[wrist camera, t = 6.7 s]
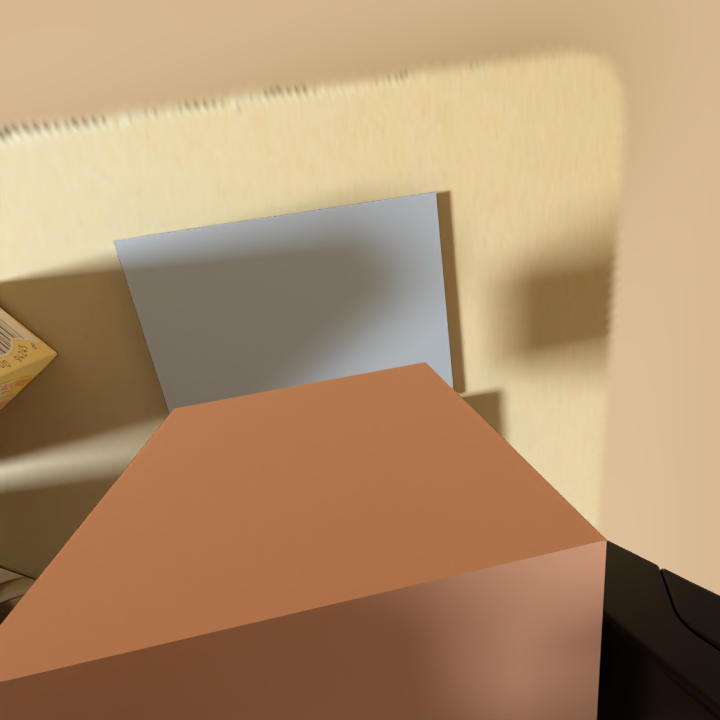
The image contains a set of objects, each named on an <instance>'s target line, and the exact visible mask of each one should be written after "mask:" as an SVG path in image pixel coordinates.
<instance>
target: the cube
mask: <svg viewBox="0 0 720 720" xmlns="http://www.w3.org/2000/svg"><path fill="white" fill-rule="evenodd" d="M606 544H607V540H606V539H605V538H604V537H603V536H602V535H601V534H600V533H599V532H598V531H597V530H596V529H595V528H594V527H593V526H592V525H591V524H590V523H589V522H588V521H587V520H586V519H585V518H584V517H583V516H582V515H581V514H580V513H579V512H578V511H577V510H576V509H575V508H574V507H573V506H572V505H571V504H570V503H569V502H568V501H567V500H566V499H565V498H564V497H563V496H562V495H560V494H559V493H558V492H557V491H556V490H555V489H554V488H553V487H552V486H551V485H550V484H549V483H548V482H547V481H546V480H545V479H544V478H543V477H542V476H541V475H540V474H539V473H538V472H537V471H536V470H535V469H534V468H533V467H532V466H531V465H530V464H529V463H528V462H527V461H526V460H525V459H524V458H523V457H522V456H521V455H520V454H519V453H518V452H517V451H516V450H515V449H514V448H513V447H512V446H511V445H510V444H509V443H508V442H506V441H505V440H504V439H503V438H502V437H501V436H500V435H499V434H498V433H497V432H496V431H495V430H494V429H493V428H492V427H491V426H490V425H489V424H488V423H487V422H486V421H485V420H484V419H483V418H482V417H481V416H480V415H479V414H478V413H477V412H476V411H475V410H474V409H473V408H472V407H471V406H470V405H469V404H468V403H467V402H466V401H465V400H464V399H463V398H462V397H461V396H460V395H459V394H458V393H457V392H456V391H455V390H454V389H452V388H451V387H450V386H449V385H448V384H447V383H446V382H445V381H444V380H443V379H442V378H441V377H440V376H439V375H438V374H437V373H436V372H435V371H434V370H433V369H432V368H431V367H430V366H429V365H428V364H427V363H426V362H423V363H417V364H412V365H407V366H401V367H396V368H390V369H385V370H380V371H374V372H369V373H363V374H358V375H353V376H347V377H342V378H336V379H331V380H326V381H320V382H315V383H309V384H304V385H299V386H293V387H288V388H282V389H277V390H272V391H266V392H261V393H255V394H250V395H245V396H239V397H234V398H228V399H223V400H218V401H212V402H207V403H201V404H196V405H191V406H185V407H180V408H174V409H173V411H172V412H171V413H170V414H169V416H168V417H167V418H166V419H165V421H164V422H163V423H162V424H161V426H160V427H159V428H158V429H157V431H156V432H155V433H154V434H153V436H152V437H151V438H150V439H149V441H148V442H147V443H146V444H145V446H144V447H143V448H142V449H141V451H140V452H139V453H138V454H137V455H136V457H135V458H134V459H133V460H132V462H131V463H130V464H129V465H128V467H127V468H126V469H125V470H124V472H123V473H122V474H121V475H120V477H119V478H118V479H117V480H116V482H115V483H114V484H113V485H112V487H111V488H110V489H109V490H108V492H107V493H106V494H105V495H104V497H103V498H102V499H101V500H100V502H99V503H98V504H97V505H96V507H95V508H94V509H93V510H92V512H91V513H90V514H89V515H88V517H87V518H86V519H85V520H84V522H83V523H82V524H81V525H80V526H79V528H78V529H77V530H76V531H75V533H74V534H73V535H72V536H71V538H70V539H69V540H68V541H67V543H66V544H65V545H64V546H63V548H62V549H61V550H60V551H59V553H58V554H57V555H56V556H55V558H54V559H53V560H52V561H51V563H50V564H49V565H48V566H47V568H46V569H45V570H44V571H43V573H42V574H41V575H40V576H39V578H38V579H37V580H36V581H35V583H34V584H33V585H32V586H31V588H30V589H29V590H28V591H27V593H26V594H25V595H24V596H23V598H22V599H21V600H20V601H19V602H18V604H17V605H16V606H15V607H14V609H13V610H12V611H11V612H10V614H9V615H8V616H7V617H6V619H5V620H4V621H3V622H2V624H1V625H0V720H597V706H598V688H599V670H600V652H601V634H602V616H603V598H604V580H605V562H606Z"/></svg>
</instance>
